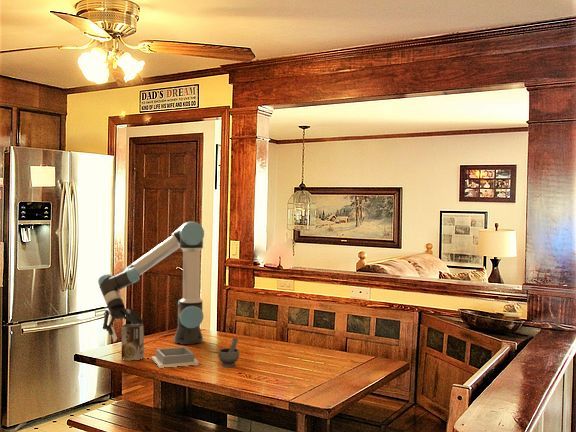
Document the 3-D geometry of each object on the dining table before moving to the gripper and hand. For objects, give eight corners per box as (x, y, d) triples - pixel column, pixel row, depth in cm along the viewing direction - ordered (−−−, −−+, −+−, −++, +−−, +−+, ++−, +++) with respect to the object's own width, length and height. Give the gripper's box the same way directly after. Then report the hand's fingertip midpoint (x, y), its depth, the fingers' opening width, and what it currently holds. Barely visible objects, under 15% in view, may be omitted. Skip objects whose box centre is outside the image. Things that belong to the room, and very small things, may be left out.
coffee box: (144, 357, 289) (144, 324, 289) (139, 361, 283) (140, 326, 283) (125, 357, 290) (126, 323, 290) (120, 360, 284) (121, 325, 284)
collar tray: (188, 356, 293) (189, 346, 293) (198, 365, 277) (199, 354, 277) (151, 359, 286) (151, 348, 286) (159, 368, 270) (159, 357, 270)
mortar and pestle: (230, 369, 270) (230, 342, 270) (213, 366, 275) (214, 339, 275) (245, 364, 280) (245, 338, 280) (228, 361, 285) (229, 335, 285)
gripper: (134, 304, 309) (149, 339, 298) (87, 309, 292) (101, 346, 281) (140, 295, 305) (155, 330, 294) (92, 299, 288) (107, 336, 277)
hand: (128, 338), depth 287 cm, fingers open, 13 cm apart
